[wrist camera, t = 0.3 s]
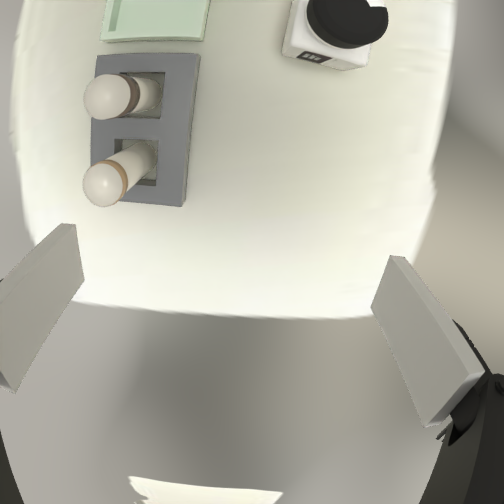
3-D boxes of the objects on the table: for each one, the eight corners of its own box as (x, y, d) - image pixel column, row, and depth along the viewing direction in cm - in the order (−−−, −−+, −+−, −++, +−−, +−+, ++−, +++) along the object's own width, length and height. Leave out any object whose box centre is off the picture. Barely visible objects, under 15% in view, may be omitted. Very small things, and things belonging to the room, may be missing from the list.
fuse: (126, 140, 34) (80, 162, 24) (158, 142, 34) (122, 164, 24) (125, 173, 36) (82, 206, 26) (156, 175, 36) (122, 209, 26)
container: (344, 71, 31) (391, 63, 19) (280, 55, 30) (299, 34, 18) (355, 17, 27) (403, -11, 16) (292, -1, 26) (314, -43, 15)
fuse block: (105, 57, 29) (97, 55, 26) (200, 56, 30) (197, 53, 27) (99, 192, 37) (91, 198, 35) (185, 200, 38) (181, 207, 36)
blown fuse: (131, 78, 30) (84, 74, 20) (164, 78, 31) (128, 72, 20) (128, 111, 32) (81, 121, 22) (161, 112, 33) (124, 120, 22)
